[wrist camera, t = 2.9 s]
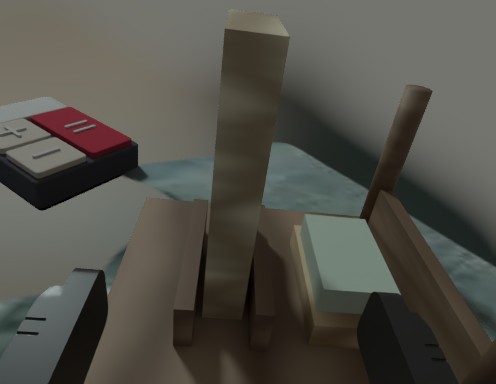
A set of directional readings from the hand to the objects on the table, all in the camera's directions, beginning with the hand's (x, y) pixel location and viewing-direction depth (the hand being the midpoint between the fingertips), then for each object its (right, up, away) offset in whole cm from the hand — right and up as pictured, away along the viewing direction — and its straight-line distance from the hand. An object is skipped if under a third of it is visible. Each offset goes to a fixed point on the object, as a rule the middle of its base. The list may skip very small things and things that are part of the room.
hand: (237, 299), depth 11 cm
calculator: (-20, +6, +27) cm, 35 cm away
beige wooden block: (-1, -3, +13) cm, 14 cm away
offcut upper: (+6, -2, +13) cm, 15 cm away
